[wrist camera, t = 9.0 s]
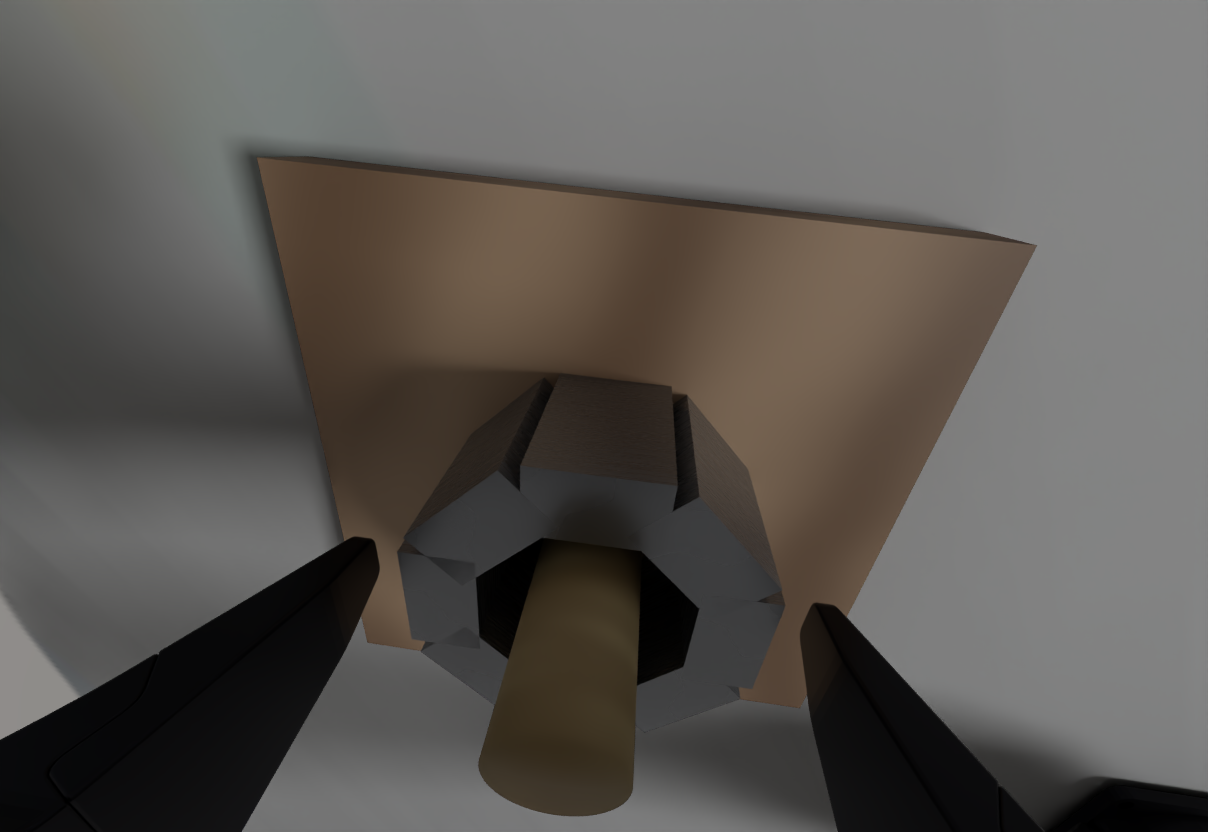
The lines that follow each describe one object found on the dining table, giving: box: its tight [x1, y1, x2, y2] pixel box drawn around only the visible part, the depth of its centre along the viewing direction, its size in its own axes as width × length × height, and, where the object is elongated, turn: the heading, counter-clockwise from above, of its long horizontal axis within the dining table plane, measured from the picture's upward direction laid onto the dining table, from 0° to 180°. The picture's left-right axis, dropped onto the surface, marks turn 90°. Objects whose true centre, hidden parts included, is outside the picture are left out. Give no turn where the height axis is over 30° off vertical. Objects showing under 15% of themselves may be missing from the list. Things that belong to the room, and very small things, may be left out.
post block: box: [257, 157, 1037, 816], centre depth 10 cm, size 14×14×8 cm
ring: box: [397, 373, 786, 733], centre depth 10 cm, size 7×7×4 cm
